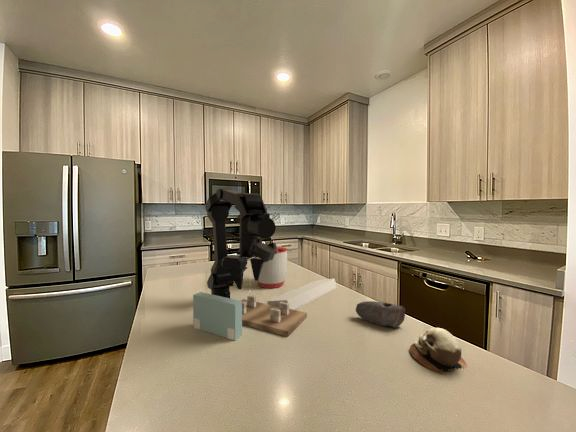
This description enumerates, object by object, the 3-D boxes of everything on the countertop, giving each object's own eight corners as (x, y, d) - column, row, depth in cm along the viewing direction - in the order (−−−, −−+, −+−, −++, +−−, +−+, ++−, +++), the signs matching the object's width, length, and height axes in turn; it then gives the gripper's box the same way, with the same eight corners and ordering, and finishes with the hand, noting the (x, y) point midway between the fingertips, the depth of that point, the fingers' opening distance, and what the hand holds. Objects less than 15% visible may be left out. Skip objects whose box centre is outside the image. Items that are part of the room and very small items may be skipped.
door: (193, 327, 75) (193, 295, 74) (201, 323, 77) (200, 291, 77) (235, 340, 67) (235, 304, 67) (242, 335, 70) (242, 301, 70)
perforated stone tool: (352, 319, 81) (353, 299, 80) (358, 314, 85) (358, 294, 85) (402, 333, 72) (402, 310, 72) (405, 326, 76) (406, 304, 76)
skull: (395, 345, 64) (416, 313, 66) (419, 366, 66) (438, 334, 68) (436, 374, 53) (460, 333, 55) (462, 398, 55) (484, 358, 57)
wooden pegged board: (218, 317, 81) (218, 302, 81) (243, 302, 94) (243, 290, 94) (288, 336, 70) (288, 319, 69) (306, 317, 82) (307, 302, 82)
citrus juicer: (266, 277, 128) (266, 239, 127) (293, 283, 118) (294, 242, 117) (244, 285, 115) (244, 242, 115) (273, 292, 105) (273, 246, 104)
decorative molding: (269, 314, 91) (290, 314, 85) (267, 300, 92) (287, 300, 86) (318, 290, 118) (336, 289, 111) (316, 280, 118) (334, 278, 112)
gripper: (255, 240, 63) (254, 299, 64) (285, 232, 80) (284, 280, 81) (220, 237, 68) (220, 292, 69) (256, 230, 85) (256, 275, 86)
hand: (248, 284), depth 76 cm, fingers open, 9 cm apart
